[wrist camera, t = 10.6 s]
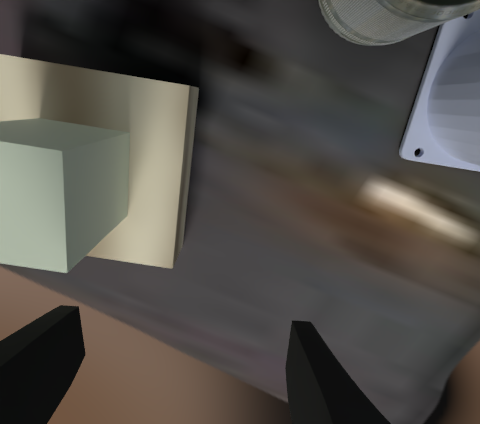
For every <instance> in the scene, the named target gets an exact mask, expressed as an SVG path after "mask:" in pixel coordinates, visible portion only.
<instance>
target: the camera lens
mask: <svg viewBox="0 0 480 424" xmlns="http://www.w3.org/2000/svg"><path fill="white" fill-rule="evenodd" d="M318 1H319V7H320V9H321V13H322V15H323V16H324V19H325V21H326V22H327V23H328V25H329V27H330V28H331V29H333V31H334V32H335V33H336V34H338V35H339V36H340V37H341V38H345V39H346V40H347V41H351V42H353V43H356V44H360V45H368V46H375V45H387V44H393V43H396V42H400V41H402V40H404V39H407V38H409V37H411V36H413V35H415V34H418V33H421V32H423V31H426V30H428V29H431V28H433V27H436V26H438V25H440V24H443V23H445V22H448V21H450V20H453V19H456V18H458V17H462V16H464V15H467V14H470V13H472V12H474V11H477V10H479V9H480V0H318Z"/></svg>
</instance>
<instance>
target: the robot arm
mask: <svg viewBox="0 0 480 424" xmlns="http://www.w3.org/2000/svg"><path fill="white" fill-rule="evenodd" d="M418 148H420V153H419V155H417V156H415V155H414V152H415V150H416V149H418ZM399 154H400V156H401V157H402V158H404V159H407V160H412V161H418V162H424V163H431V164H437V165H443V166H449V167H455V168H461V169H467V170H474V171H480V9H479V10H477V11H474V12H472V13H470V14H468V17H467V19H465V18H464V17H463V16H462V17H458V18H456V19H453V20H450V21H448V22H445V23H443V24H440V27H439V30H438V33H437V36H436V39H435V42H434V45H433V48H432V51H431V54H430V57H429V60H428V63H427V66H426V69H425V72H424V76H423V79H422V82H421V85H420V88H419V91H418V94H417V97H416V100H415V103H414V106H413V109H412V112H411V115H410V118H409V121H408V124H407V127H406V130H405V133H404V136H403V139H402V142H401V146H400V149H399ZM84 356H85V348H84V342H83V335H82V327H81V320H80V313H79V307H78V306H77V307H76V306H63V305H61V306H59V307H57V308H55V309H53V310H51V311H50V312H48V313H46V314H44V315H43V316H41V317H39V318H38V319H36V320H35V321H33V322H31V323H30V324H28V325H26V326H25V327H23V328H21V329H20V330H18V331H17V332H15V333H13V334H11V335H10V336H8V337H6V338H5V339H3V340H1V341H0V424H47V423H48V421H49V420H50V418H51V416H52V415H53V413H54V412H55V410H56V408H57V407H58V405H59V404H60V402H61V400H62V399H63V397H64V395H65V394H66V392H67V391H68V389H69V387H70V386H71V384H72V381H73V380H74V378H75V376H76V373H77V372H78V369H79V367H80V365H81V363H82V361H83V359H84ZM286 381H287V393H288V402H289V407H290V413H291V418H292V424H391V423H390V422H389V421H388V420H387V419H386V418H385V417H384V416H383V415H382V414H381V413H380V412H379V411H378V409H377V408H376V407H375V406H374V405H373V404H372V403H371V402H370V400H369V399H368V398H367V397H366V396H365V394H364V393H363V392H362V391H361V390H360V388H359V387H358V386H357V385H356V384H355V382H354V381H353V380H352V379H351V377H350V376H349V375H348V373H347V372H346V371H345V369H344V368H343V367H342V366H341V364H340V363H339V362H338V360H337V359H336V358H335V356H334V355H333V353H332V352H331V351H330V349H329V348H328V346H327V345H326V343H325V342H324V341H323V339H322V338H321V336H320V335H319V333H318V332H317V330H316V329H315V327H314V326H313V324H312V323H311V322H306V321H292V325H291V332H290V339H289V346H288V354H287V361H286Z"/></svg>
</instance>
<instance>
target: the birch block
mask: <svg viewBox="0 0 480 424" xmlns="http://www.w3.org/2000/svg"><path fill="white" fill-rule="evenodd" d="M198 93H199V88H197V87H193V86H189V85H183V84H177V83H171V82H165V81H159V80H153V79H147V78H141V77H135V76H129V75H123V74H117V73H111V72H105V71H99V70H93V69H87V68H80V67H74V66H68V65H62V64H56V63H50V62H44V61H38V60H32V59H26V58H20V57H14V56H8V55H2V54H0V121H11V120H22V119H34V118H43V119H49V120H55V121H61V122H67V123H74V124H80V125H86V126H92V127H99V128H105V129H111V130H117V131H124V132H130V150H129V181H128V211H127V217H126V218H124V219H123V220H122V221H121V222H120V223H119V224H118V225H117V226H116V227H115V228H114V229H113V230H112V231H111V232H110V233H109V234H108V235H107V236H106V237H105V238H103V239H102V240H101V241H100V242H99V243H98V244H97V245H96V246H95V247H94V248H93V249H92V250H91V251H90V252H89V253H88V254H87V255H86V256H92V257H98V258H105V259H112V260H118V261H125V262H132V263H138V264H145V265H152V266H158V267H165V268H172V269H173V266H174V264H175V262H176V260H177V258H178V255H179V253H180V251H181V249H182V247H183V239H184V229H185V219H186V210H187V200H188V190H189V180H190V171H191V161H192V151H193V142H194V132H195V122H196V112H197V103H198Z"/></svg>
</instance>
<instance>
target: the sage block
mask: <svg viewBox="0 0 480 424" xmlns="http://www.w3.org/2000/svg"><path fill="white" fill-rule="evenodd" d="M129 150H130V132H124V131H117V130H111V129H105V128H99V127H92V126H86V125H80V124H74V123H67V122H61V121H55V120H49V119H43V118H34V119H22V120H11V121H0V263H3V264H10V265H16V266H23V267H30V268H37V269H43V270H50V271H57V272H64V273H68V272H69V271H70V270H71V269H72V268H73V267H74V266H75V265H76V264H77V263H78V262H79V261H80V260H81V259H82V258H84V257H85V256H86V255H87V254H88V253H89V252H90V251H91V250H92V249H93V248H94V247H95V246H96V245H97V244H98V243H99V242H100V241H101V240H102V239H103V238H105V237H106V236H107V235H108V234H109V233H110V232H111V231H112V230H113V229H114V228H115V227H116V226H117V225H118V224H119V223H120V222H121V221H122V220H123V219H124V218H126V217H127V211H128V181H129Z"/></svg>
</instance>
